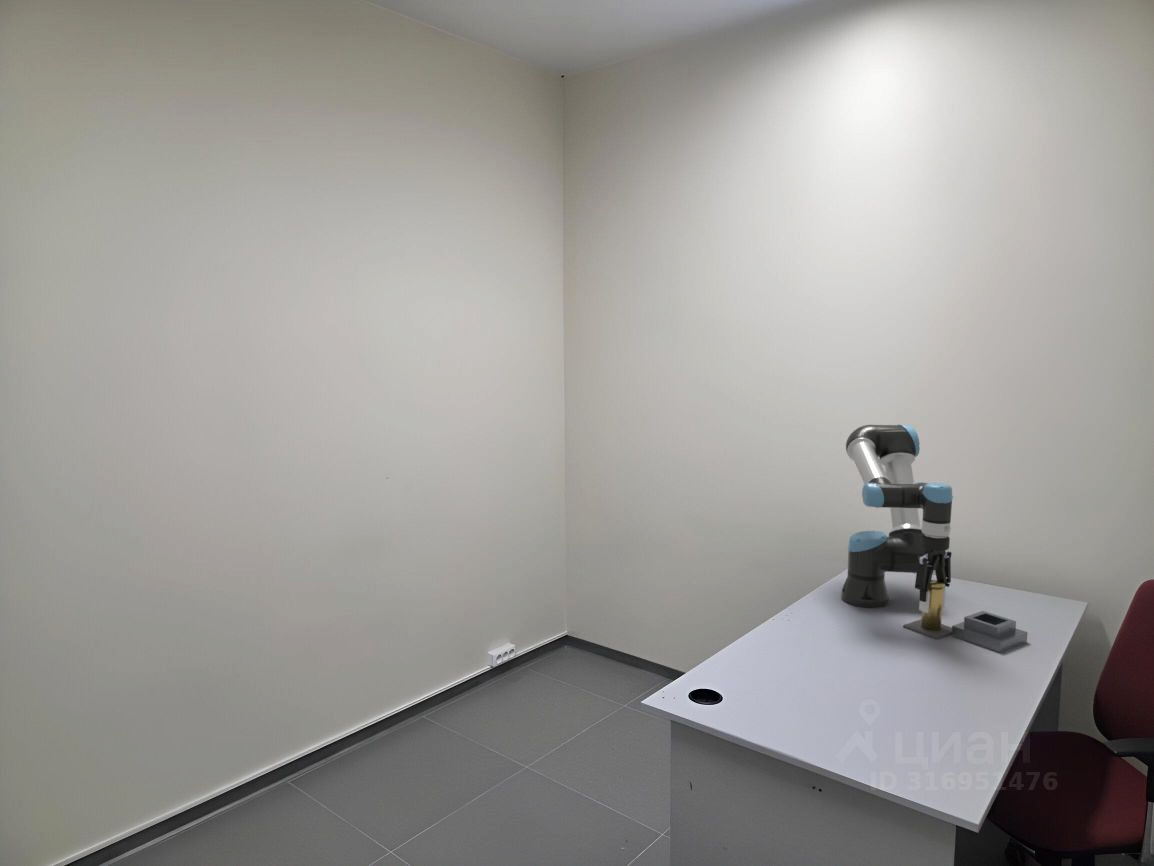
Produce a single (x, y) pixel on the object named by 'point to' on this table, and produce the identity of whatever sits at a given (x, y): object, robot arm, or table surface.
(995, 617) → the housing
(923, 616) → the brass flared knob
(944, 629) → the mat
